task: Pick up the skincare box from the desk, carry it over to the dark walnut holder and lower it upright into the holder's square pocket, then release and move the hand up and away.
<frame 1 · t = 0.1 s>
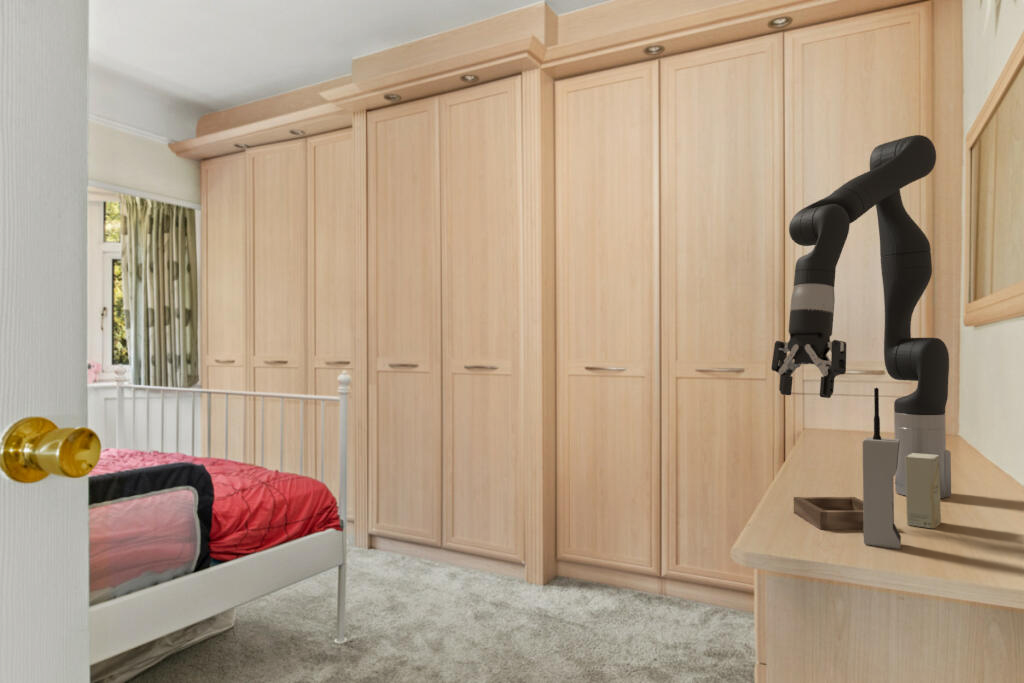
hand: (804, 396, 122), 22 cm above the table, tool pointing down, fingers open, 8 cm apart
skincare box: (923, 525, 116), on the table
vintage mobile phone: (882, 545, 104), on the table
walnut holder: (838, 520, 118), on the table
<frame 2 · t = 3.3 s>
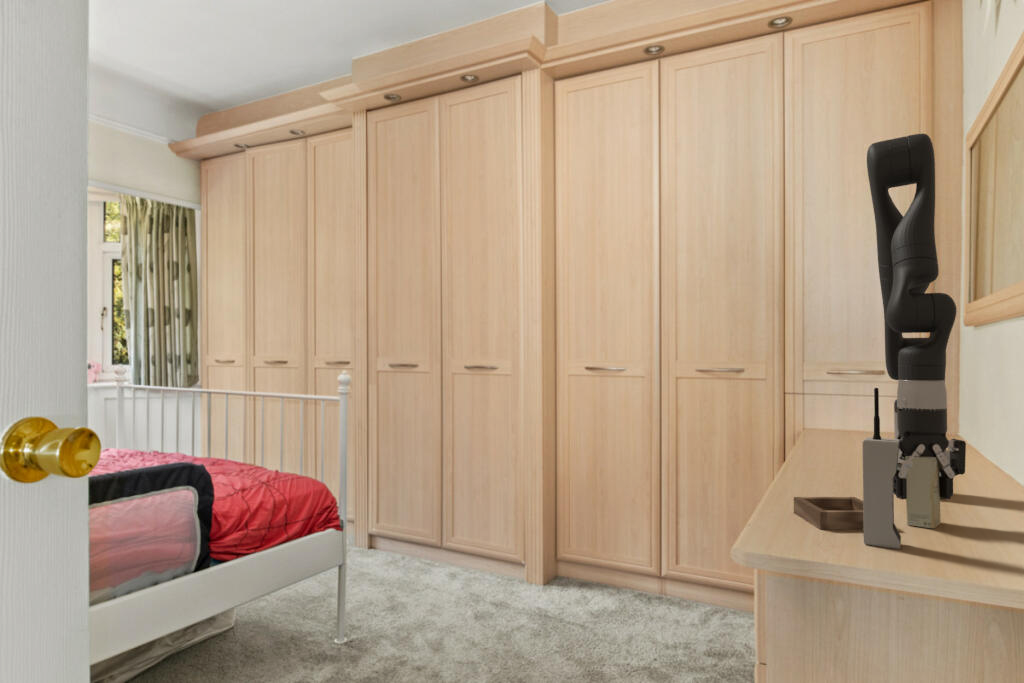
hand: (922, 498, 116), 5 cm above the table, tool pointing down, fingers closed on skincare box, 7 cm apart
skincare box: (923, 524, 116), on the table, touching gripper
everything else where it was.
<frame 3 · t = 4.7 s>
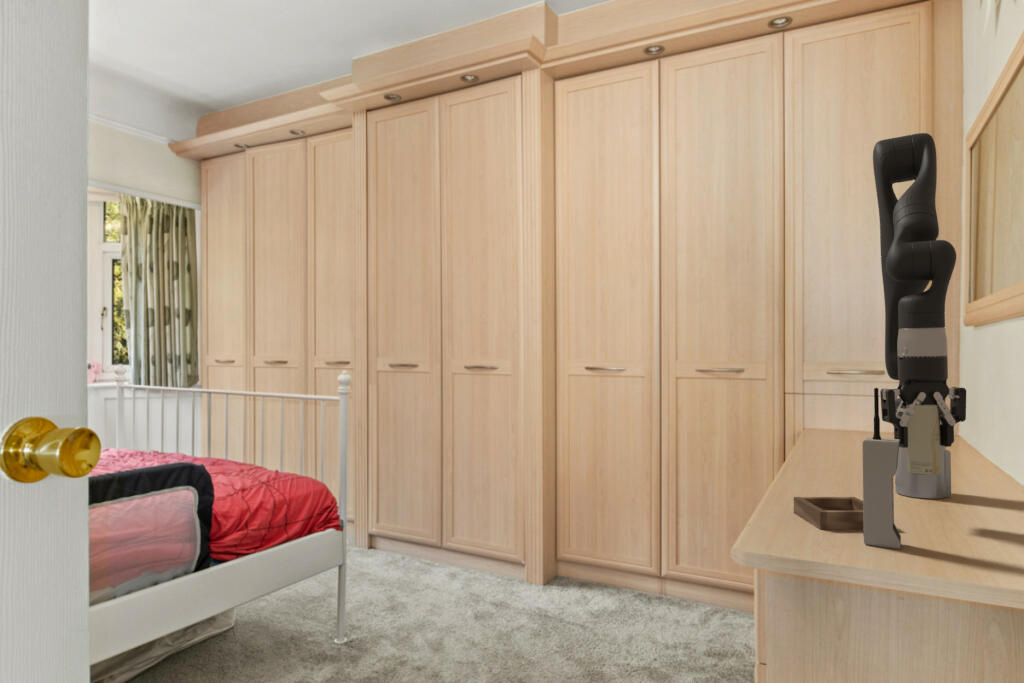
hand: (923, 446, 116), 14 cm above the table, tool pointing down, fingers closed on skincare box, 7 cm apart
skincare box: (924, 473, 116), point 9 cm above the table, touching gripper
everything else where it was.
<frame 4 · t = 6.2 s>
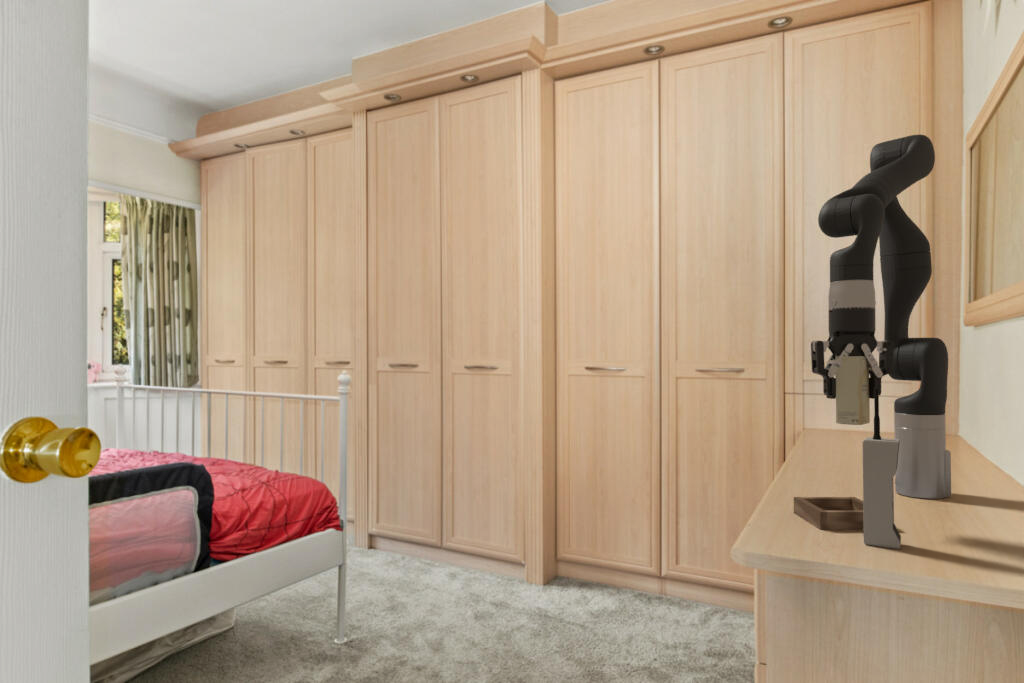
hand: (852, 398, 117), 22 cm above the table, tool pointing down, fingers closed on skincare box, 7 cm apart
skincare box: (852, 424, 117), point 17 cm above the table, touching gripper
everything else where it was.
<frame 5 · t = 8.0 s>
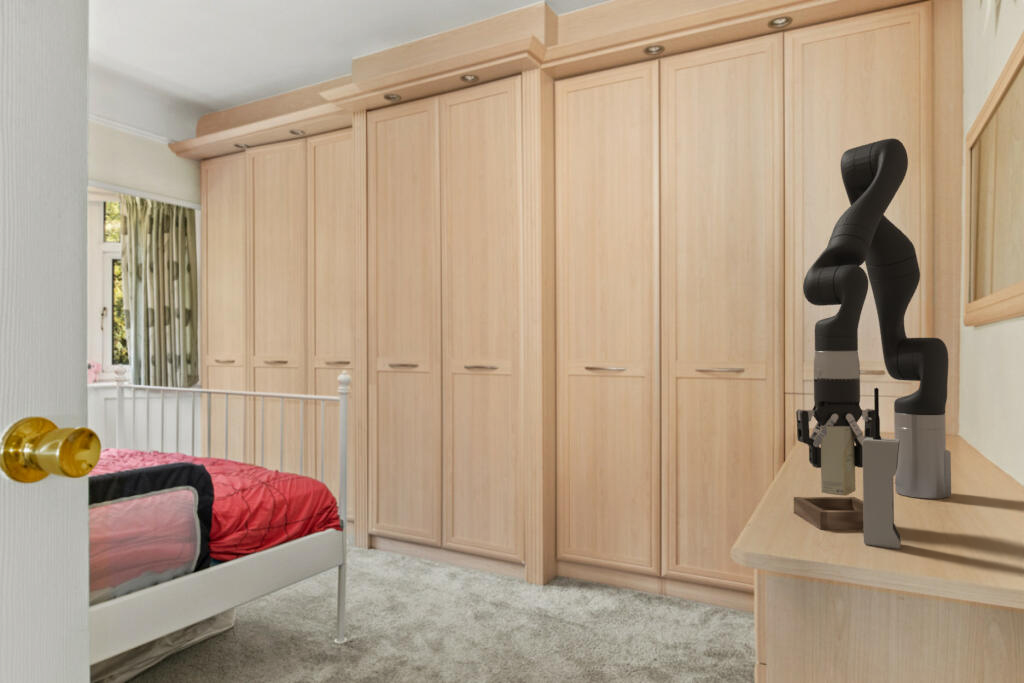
hand: (837, 466, 118), 10 cm above the table, tool pointing down, fingers closed on skincare box, 7 cm apart
skincare box: (838, 493, 118), point 5 cm above the table, touching gripper
everything else where it was.
when the fingers open (5 cm above the table, at t = 9.5 s): skincare box stays where it is, resting in walnut holder.
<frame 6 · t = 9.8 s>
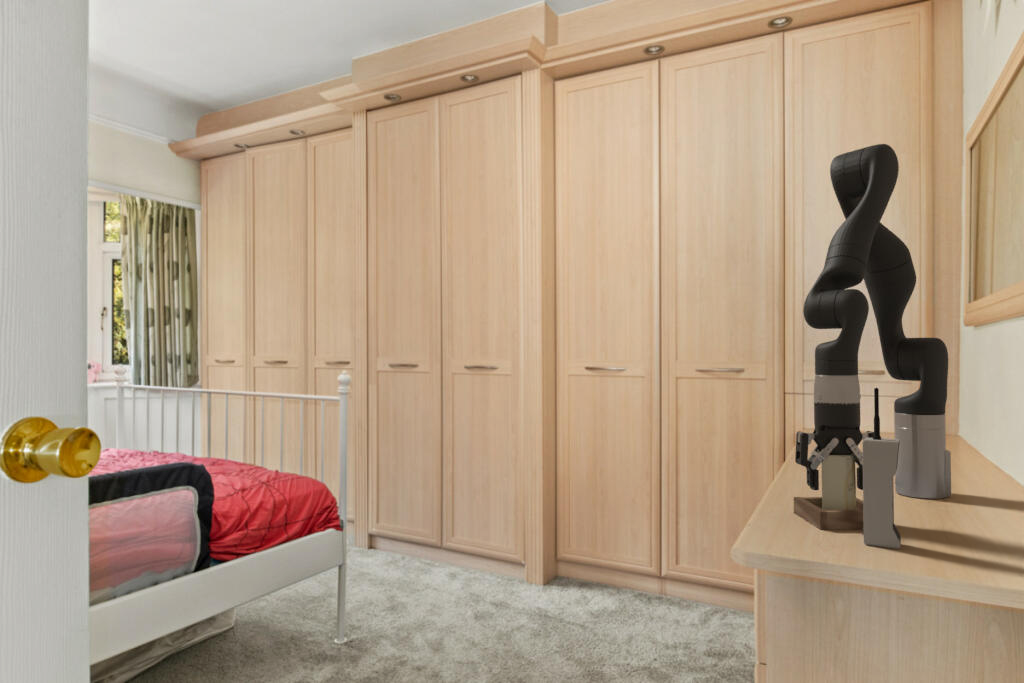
hand: (837, 489, 118), 6 cm above the table, tool pointing down, fingers open, 8 cm apart
skincare box: (839, 521, 118), resting in walnut holder
everything else where it was.
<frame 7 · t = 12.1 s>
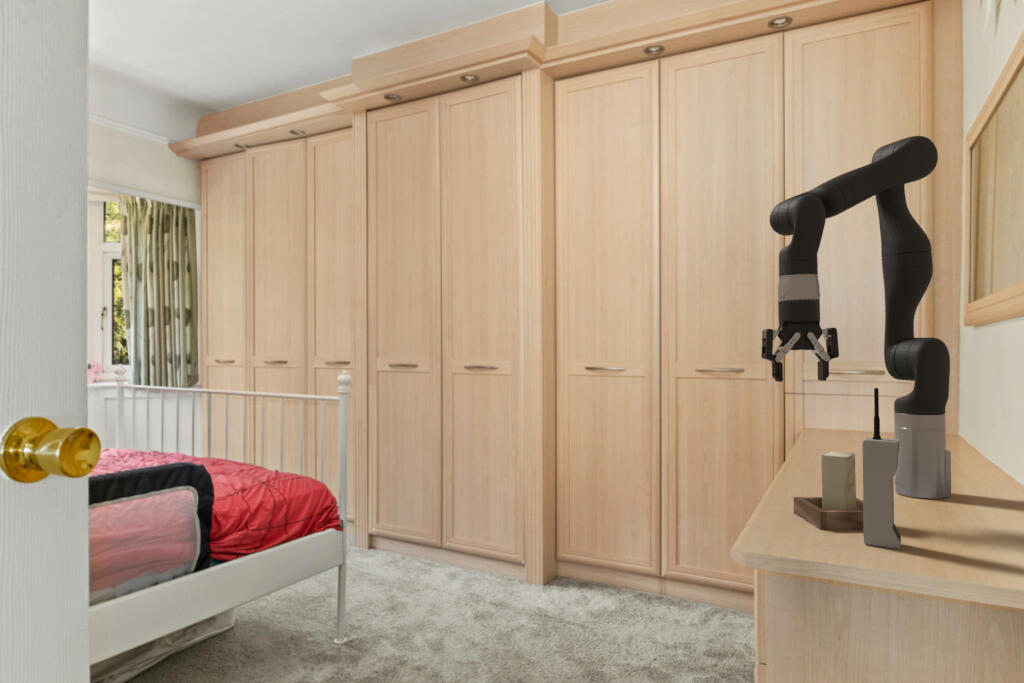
hand: (800, 381, 128), 25 cm above the table, tool pointing down, fingers open, 8 cm apart
nothing on the table moved.
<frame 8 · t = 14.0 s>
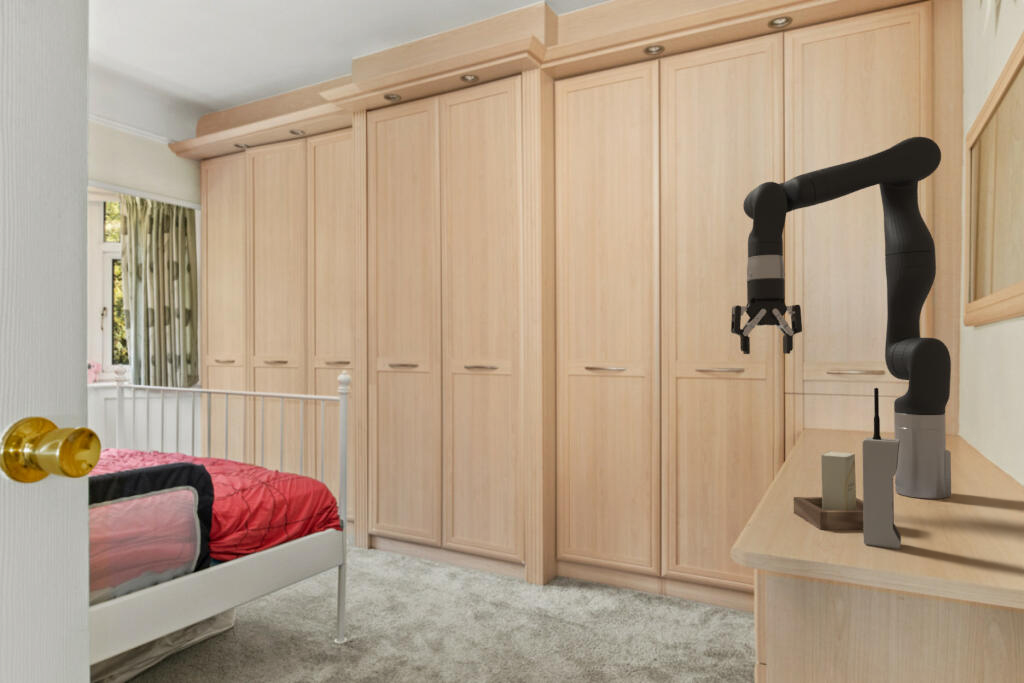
hand: (766, 353, 139), 30 cm above the table, tool pointing down, fingers open, 8 cm apart
nothing on the table moved.
at the end: skincare box 0.2 cm off-centre on the walnut holder, point 0.0 cm above the walnut holder's base; skincare box tilted 0°; the gripper is holding nothing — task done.
